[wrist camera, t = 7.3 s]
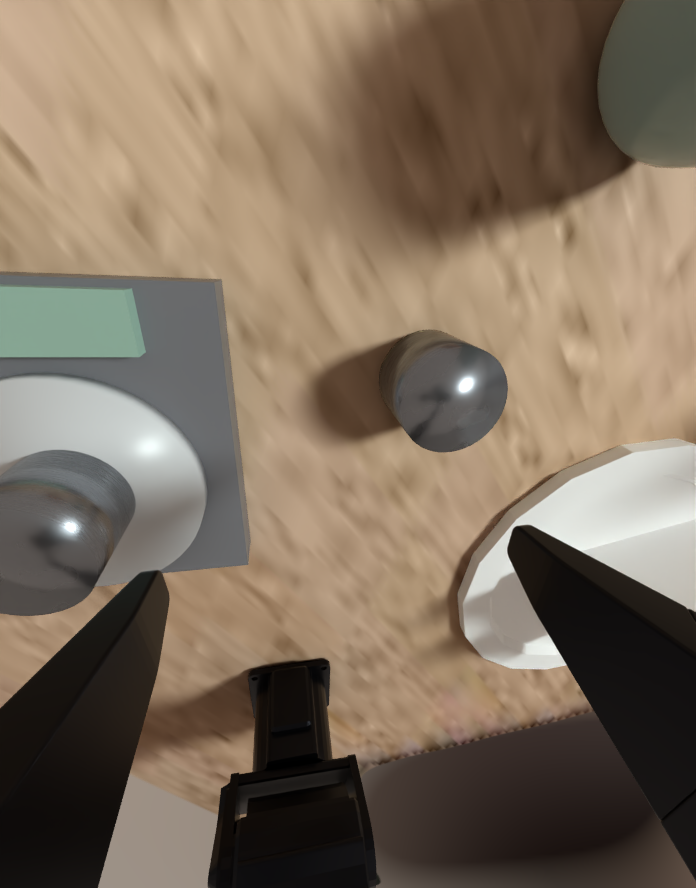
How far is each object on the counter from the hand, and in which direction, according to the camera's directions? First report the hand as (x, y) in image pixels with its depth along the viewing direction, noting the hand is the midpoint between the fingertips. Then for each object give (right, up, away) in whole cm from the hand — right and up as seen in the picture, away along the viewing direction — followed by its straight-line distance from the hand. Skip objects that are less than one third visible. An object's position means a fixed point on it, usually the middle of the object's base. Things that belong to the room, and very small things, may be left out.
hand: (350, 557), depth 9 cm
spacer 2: (+4, +7, +10) cm, 13 cm away
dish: (+21, -8, +22) cm, 31 cm away
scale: (-13, +3, +9) cm, 16 cm away
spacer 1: (-12, 0, +7) cm, 14 cm away
